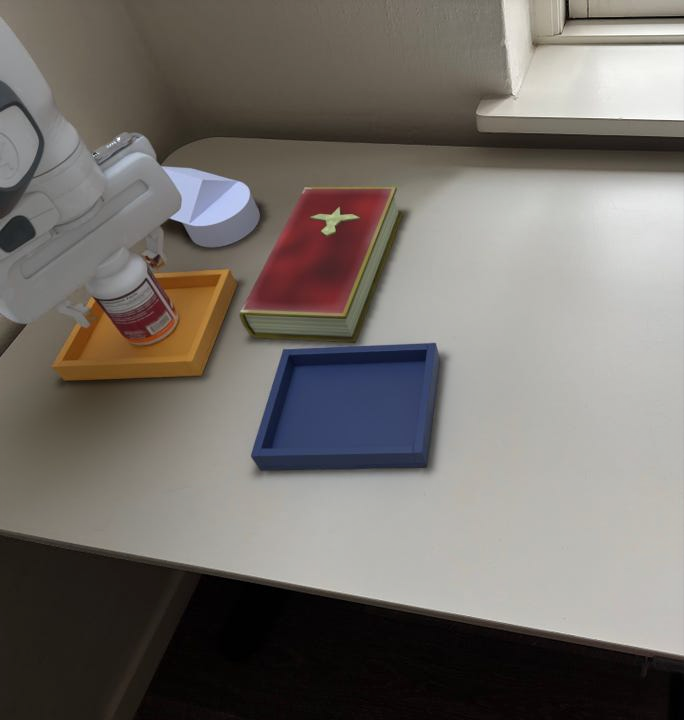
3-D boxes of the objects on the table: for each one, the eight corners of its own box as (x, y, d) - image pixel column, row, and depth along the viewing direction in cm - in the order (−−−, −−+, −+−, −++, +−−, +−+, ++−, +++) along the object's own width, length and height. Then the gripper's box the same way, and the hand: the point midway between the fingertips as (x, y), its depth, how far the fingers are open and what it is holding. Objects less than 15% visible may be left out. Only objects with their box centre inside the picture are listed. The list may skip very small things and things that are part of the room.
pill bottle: (133, 310, 81) (79, 235, 73) (185, 303, 81) (138, 227, 73) (118, 351, 77) (60, 277, 69) (173, 344, 77) (121, 268, 69)
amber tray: (64, 381, 76) (51, 366, 74) (113, 290, 85) (102, 276, 83) (201, 375, 74) (191, 360, 72) (237, 284, 83) (229, 268, 81)
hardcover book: (250, 337, 77) (235, 310, 74) (311, 212, 90) (301, 184, 87) (355, 342, 74) (344, 314, 71) (403, 213, 87) (395, 184, 84)
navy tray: (259, 470, 66) (250, 456, 64) (290, 364, 74) (283, 349, 72) (426, 467, 63) (421, 452, 62) (440, 358, 72) (436, 342, 70)
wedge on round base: (153, 230, 92) (226, 254, 87) (127, 186, 87) (203, 210, 82) (201, 189, 96) (273, 210, 91) (179, 146, 91) (254, 165, 86)
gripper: (118, 116, 71) (179, 226, 81) (-72, 239, 61) (26, 347, 71) (159, 129, 68) (217, 241, 79) (-33, 260, 58) (63, 369, 68)
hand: (125, 292), depth 75 cm, fingers open, 8 cm apart
